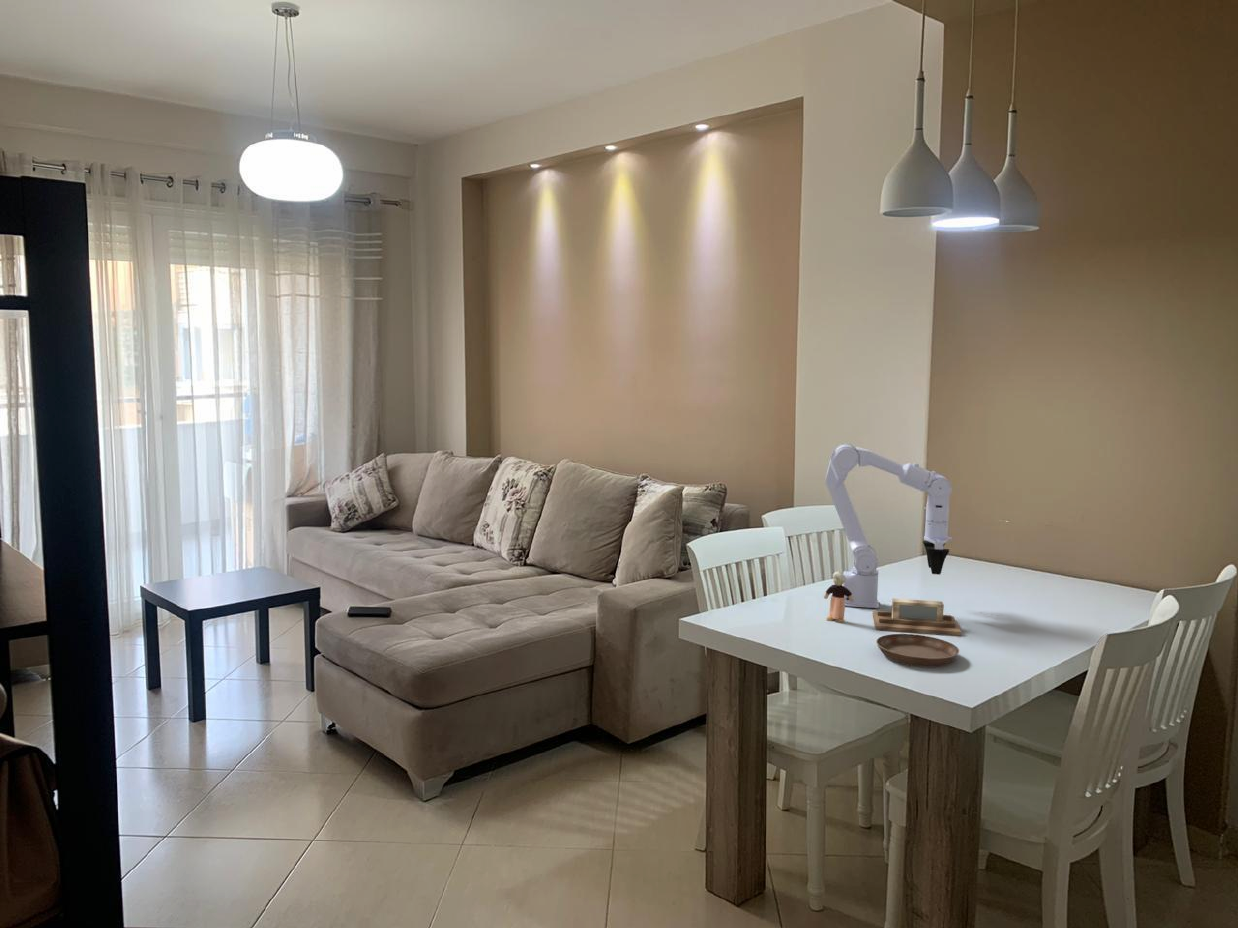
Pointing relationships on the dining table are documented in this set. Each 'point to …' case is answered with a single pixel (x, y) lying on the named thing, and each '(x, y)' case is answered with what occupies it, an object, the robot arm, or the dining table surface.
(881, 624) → the picture ledge
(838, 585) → the grandmother figurine
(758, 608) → the dining table surface
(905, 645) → the plant saucer
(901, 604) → the beige long rectangular block
